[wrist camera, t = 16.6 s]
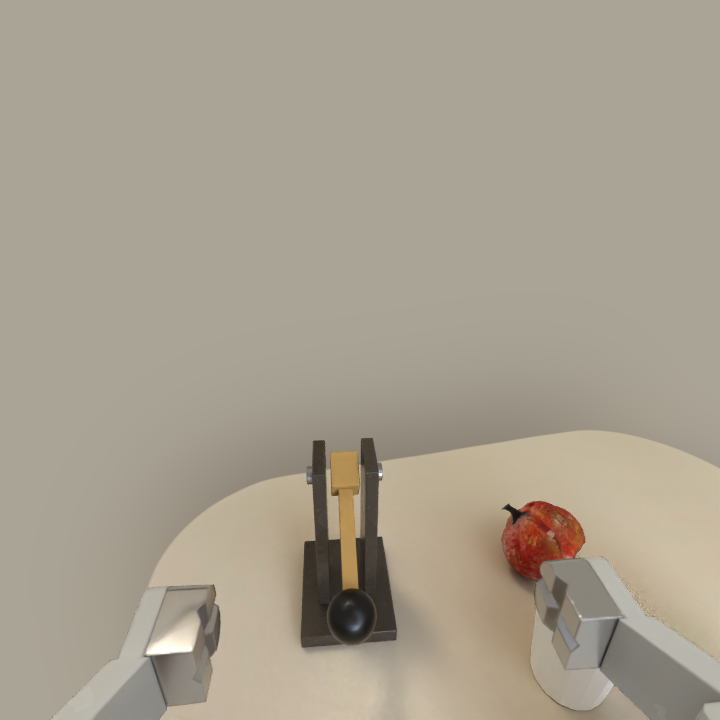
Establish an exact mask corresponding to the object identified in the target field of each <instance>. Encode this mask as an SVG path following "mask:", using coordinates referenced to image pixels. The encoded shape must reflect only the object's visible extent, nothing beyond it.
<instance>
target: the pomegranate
mask: <svg viewBox="0 0 720 720" xmlns="http://www.w3.org/2000/svg"><path fill="white" fill-rule="evenodd" d="M502 509H506V510H508V511H510V512H511V514H512V515H511V516H510V517H509V518H508V521H507V525H506V528H505V530H504V532H503V535H502V546H503V550H504V553H505V556H506V558H507V560H508V562H509V563H510V565H511V566H512V568H513V569H514V570H515V571H516V572H518V573H519V574H520V575H522V576H524V577H527V578H530V579H533V580H536V581H539V580H540V579H541V578H542V576H541V574H540V572H539V570H540V566H541V563H542V562H544V561H547V560H558V559H570V558H575V556H576V554H577V552H579V550H580V549H581V547H582V546H583V544H584V543H585V536H584V532H583V529H582V527H581V525H580V523H579V522H578V521H577V520H576V519H575V518H574V517H573V516H572V515H571V513H569V512H568V511H566V510H565V509H562V508H560V507H557V506H554V505H552V504H550V503H547V502H542V501H533V502H530V503H527V504H526V505H525V506H524V507H523V508H522V509H519V510H516V509H515V508H513V507H511V506H510V505H509V504H507V505H506V506H505V507H504V508H502ZM502 509H501V510H502Z"/></svg>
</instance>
